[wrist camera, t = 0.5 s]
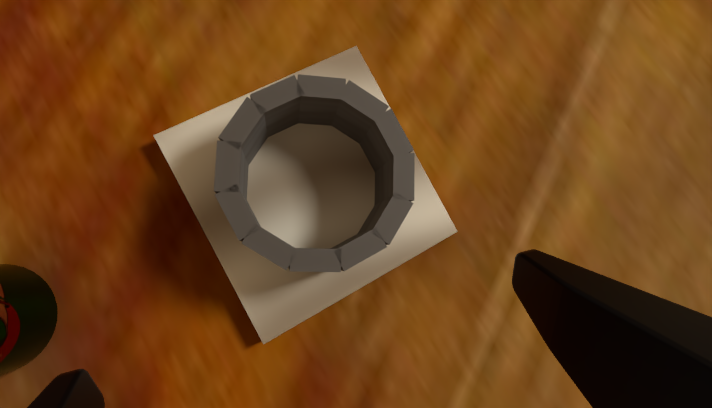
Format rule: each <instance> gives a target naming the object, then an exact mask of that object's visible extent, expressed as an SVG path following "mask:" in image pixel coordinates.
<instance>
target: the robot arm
mask: <svg viewBox="0 0 712 408" xmlns="http://www.w3.org/2000/svg"><path fill="white" fill-rule="evenodd" d="M512 285H513V288H514V291H515V293H516V294H517V296H518V298H519V299H520V301H521V303H522V304H523V306H524V308H525V309H526V311H527V313H528V314H529V316H530V318H531V319H532V321H533V323H534V325H535V326H536V328H537V330H538V331H539V333H540V335H541V336H542V338H543V340H544V341H545V343H546V344H547V346H548V347H549V349H550V350H551V352H552V353H553V355H554V356H555V357H556V359H557V360H558V361H559V363H560V364H561V366H562V367H563V368H564V370H565V371H566V372H567V374H568V375H569V376H570V378H571V379H572V380H573V382H574V383H575V384H576V386H577V387H578V388H579V390H580V391H581V393H582V394H583V395H584V397H585V398H586V399H587V401H588V402H589V403H590V405H591V406H592V407H593V408H712V317H710V316H707V315H704V314H702V313H699V312H697V311H694V310H691V309H689V308H686V307H684V306H681V305H679V304H676V303H673V302H671V301H668V300H666V299H663V298H660V297H658V296H655V295H653V294H650V293H647V292H645V291H642V290H640V289H637V288H634V287H632V286H629V285H627V284H624V283H621V282H619V281H616V280H614V279H611V278H608V277H606V276H603V275H601V274H598V273H595V272H593V271H590V270H588V269H585V268H582V267H580V266H577V265H575V264H572V263H569V262H567V261H564V260H562V259H559V258H556V257H554V256H551V255H549V254H546V253H543V252H541V251H538V250H534V249H533V250H528V251H524V252H520V253H518V254H517V255H516V257H515V263H514V270H513V276H512ZM27 408H105V403H104V398H103V395H102V393H101V392H100V390H99V388H98V387H97V385H96V384H95V382H94V381H93V379H92V378H91V376H90V375H89V373H88V372H87V371H86V370H84V369H78V370H74V371H70V372H66V373H62V374H60V375H58V376H57V377H56V378H55V379H53V381H52V382H51V383H50V384H49V385H48V386H47V387H46V388H45V389H44V390H43V391H42V392H41V393H40V394H39V396H38V397H37V398H36V399H35V400H34V401H33V402H32V403H31V404H30V405H29V406H28V407H27Z"/></svg>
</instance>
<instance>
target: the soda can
mask: <svg viewBox="0 0 712 408" xmlns="http://www.w3.org/2000/svg"><path fill="white" fill-rule="evenodd" d="M56 322H57V303H56V300H55V297H54V294H53V292H52V290H51V288H50V287H49V286H48V284H47V283H46V282H45V281H44V280H43V279H42V278H41V277H40V276H39V275H37V274H36V273H34V272H33V271H31V270H28V269H26V268H24V267H20V266H16V265H9V264H0V376H2V375H4V374H7V373H9V372H11V371H14V370H16V369H18V368H20V367H22V366H24V365H26V364H27V363H29V362H30V361H32V360H33V359H34V358H35V357H36V356H38V355H39V354H40V353H41V352H42V350H43V349H44V348H45V347H46V346H47V344H48V342H49V341H50V339H51V337H52V335H53V333H54V330H55V327H56Z"/></svg>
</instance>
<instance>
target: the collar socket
mask: <svg viewBox="0 0 712 408" xmlns="http://www.w3.org/2000/svg"><path fill="white" fill-rule="evenodd" d="M153 136H154V138H155V139H156V141H157V143H158V145H159V147H160V149H161V151H162V153H163V155H164V156H165V158H166V160H167V162H168V164H169V166H170V168H171V170H172V172H173V174H174V175H175V177H176V179H177V181H178V183H179V185H180V187H181V189H182V191H183V193H184V194H185V196H186V198H187V200H188V202H189V204H190V206H191V208H192V210H193V212H194V213H195V215H196V217H197V219H198V221H199V223H200V225H201V227H202V229H203V231H204V232H205V234H206V236H207V238H208V240H209V242H210V244H211V246H212V248H213V249H214V251H215V253H216V255H217V257H218V259H219V261H220V263H221V265H222V267H223V268H224V270H225V272H226V274H227V276H228V278H229V280H230V282H231V284H232V286H233V287H234V289H235V291H236V293H237V295H238V297H239V299H240V301H241V303H242V305H243V306H244V308H245V310H246V312H247V314H248V316H249V318H250V320H251V322H252V323H253V325H254V327H255V329H256V331H257V333H258V335H259V337H260V339H261V341H262V342H263V344H265V343H266V342H268V341H270V340H272V339H273V338H275V337H277V336H279V335H280V334H282V333H284V332H285V331H287V330H289V329H291V328H292V327H294V326H296V325H297V324H299V323H301V322H303V321H304V320H306V319H308V318H310V317H311V316H313V315H315V314H316V313H318V312H320V311H322V310H323V309H325V308H327V307H328V306H330V305H332V304H334V303H335V302H337V301H339V300H341V299H342V298H344V297H346V296H347V295H349V294H351V293H353V292H354V291H356V290H358V289H359V288H361V287H363V286H365V285H366V284H368V283H370V282H371V281H373V280H375V279H377V278H378V277H380V276H382V275H384V274H385V273H387V272H389V271H390V270H392V269H394V268H396V267H397V266H399V265H401V264H402V263H404V262H406V261H408V260H409V259H411V258H413V257H415V256H416V255H418V254H420V253H421V252H423V251H425V250H427V249H428V248H430V247H432V246H433V245H435V244H437V243H439V242H440V241H442V240H444V239H446V238H447V237H449V236H451V235H452V234H454V233H456V232H457V230H456V228H455V226H454V224H453V222H452V221H451V219H450V217H449V215H448V213H447V211H446V210H445V208H444V206H443V204H442V202H441V200H440V199H439V197H438V195H437V193H436V191H435V189H434V188H433V186H432V184H431V182H430V180H429V178H428V176H427V175H426V173H425V171H424V169H423V167H422V165H421V164H420V162H419V160H418V158H417V156H416V154H415V153H414V151H413V150H414V149H413V148H412V146H411V144H410V142H409V140H408V138H407V137H406V135H405V133H404V131H403V129H402V127H401V126H400V124H399V122H398V120H397V118H396V116H395V115H394V113H393V111H392V109H391V108H390V107H389V105H388V103H387V101H386V99H385V97H384V96H383V94H382V92H381V90H380V88H379V86H378V85H377V83H376V81H375V79H374V77H373V75H372V74H371V72H370V70H369V68H368V66H367V64H366V63H365V61H364V59H363V57H362V55H361V53H360V52H359V50H358V48H357V46H355V47H353V48H350V49H348V50H346V51H344V52H341V53H339V54H337V55H335V56H332V57H330V58H328V59H326V60H323V61H321V62H319V63H316V64H314V65H312V66H310V67H307V68H305V69H303V70H301V71H298V72H296V73H294V74H292V75H289V76H287V77H285V78H283V79H280V80H278V81H276V82H273V83H271V84H269V85H267V86H264V87H262V88H260V89H258V90H255V91H253V92H251V93H249V94H246V95H244V96H242V97H239V98H237V99H235V100H233V101H230V102H228V103H226V104H224V105H221V106H219V107H217V108H215V109H212V110H210V111H208V112H206V113H203V114H201V115H199V116H196V117H194V118H192V119H190V120H187V121H185V122H183V123H181V124H178V125H176V126H174V127H172V128H169V129H167V130H165V131H163V132H160V133H158V134H156V135H153Z"/></svg>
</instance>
